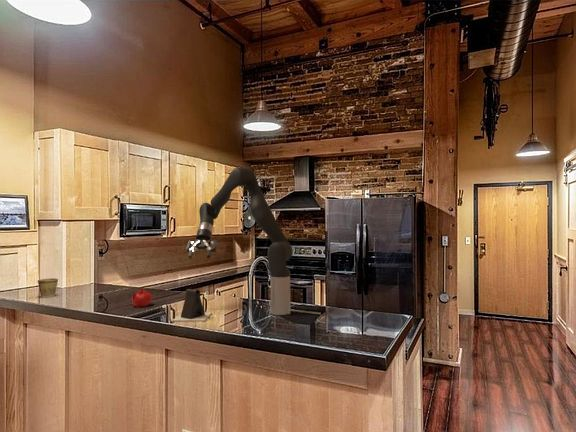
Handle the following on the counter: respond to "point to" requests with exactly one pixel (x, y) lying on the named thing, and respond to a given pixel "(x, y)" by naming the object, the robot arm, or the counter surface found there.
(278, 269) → the robot arm
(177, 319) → the board
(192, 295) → the phone stand
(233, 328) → the counter surface
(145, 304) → the pomegranate
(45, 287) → the ceramic cup
